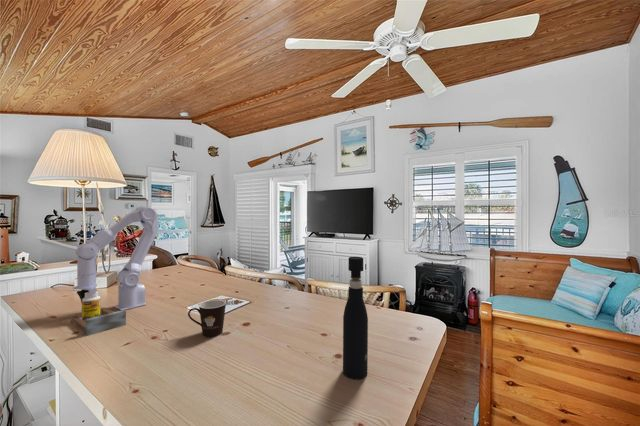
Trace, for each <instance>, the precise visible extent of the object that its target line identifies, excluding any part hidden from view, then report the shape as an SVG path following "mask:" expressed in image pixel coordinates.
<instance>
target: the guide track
mask: <svg viewBox="0 0 640 426" xmlns="http://www.w3.org/2000/svg"><path fill="white" fill-rule="evenodd" d="M101 314H102V315H101ZM101 314H100V316H97V317H93V318H89V319H86V321H83V320H82V317H79V316H78V315H73V316H70V323H71V324H72V325H74V326H75V327H76V328H78V329H79V330H80V331H81V332H82V333H83V334H85V335H86V336H91V335H95V334H98V333H102V332H105V331H106V332H107V331H109V330H112V329H116V328H119V327H123V326H126V325H127V310H118V311H115V312H114V311H112V310H111V309H110V308H103V309H102V310H101Z"/></svg>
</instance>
